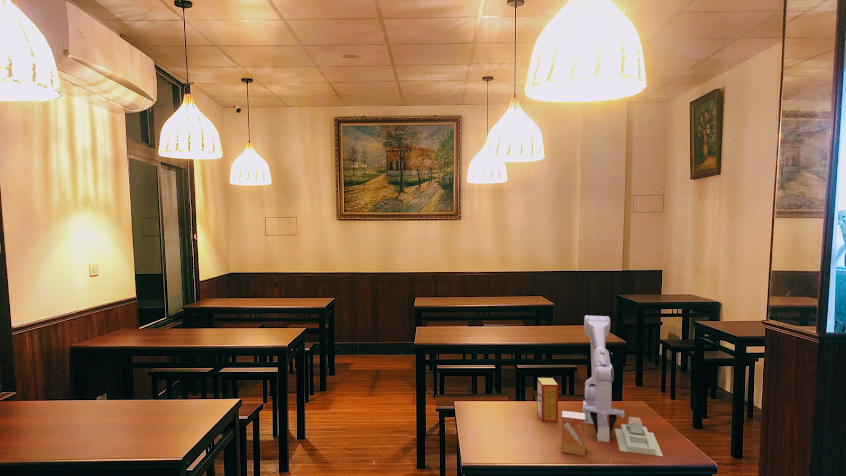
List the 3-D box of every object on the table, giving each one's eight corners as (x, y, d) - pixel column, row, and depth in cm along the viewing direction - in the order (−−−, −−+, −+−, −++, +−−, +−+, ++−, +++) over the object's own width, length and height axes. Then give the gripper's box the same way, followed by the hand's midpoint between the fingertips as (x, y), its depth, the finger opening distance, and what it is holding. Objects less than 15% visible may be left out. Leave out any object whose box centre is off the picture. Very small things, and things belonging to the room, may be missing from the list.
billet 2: (630, 438, 178) (630, 422, 178) (628, 431, 184) (628, 416, 184) (642, 439, 177) (642, 423, 177) (639, 433, 183) (639, 417, 182)
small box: (561, 452, 168) (561, 416, 168) (561, 445, 174) (561, 410, 174) (585, 456, 165) (585, 419, 165) (584, 448, 172) (584, 412, 171)
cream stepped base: (619, 452, 168) (619, 445, 168) (614, 430, 187) (614, 423, 187) (663, 458, 164) (663, 450, 164) (652, 434, 183) (653, 427, 183)
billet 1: (597, 441, 176) (598, 425, 176) (596, 435, 181) (597, 419, 181) (609, 443, 175) (609, 427, 174) (608, 436, 180) (608, 421, 180)
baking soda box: (537, 413, 204) (537, 376, 204) (552, 413, 204) (552, 377, 204) (541, 422, 195) (542, 383, 195) (557, 422, 195) (558, 384, 194)
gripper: (583, 399, 176) (583, 435, 176) (625, 403, 172) (625, 440, 172) (582, 392, 183) (582, 427, 183) (623, 396, 179) (622, 432, 179)
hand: (603, 433), depth 178 cm, fingers closed on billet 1, 4 cm apart
